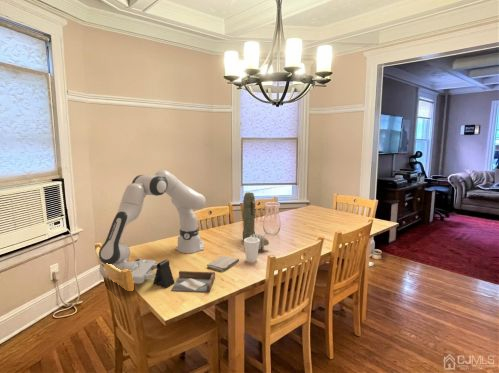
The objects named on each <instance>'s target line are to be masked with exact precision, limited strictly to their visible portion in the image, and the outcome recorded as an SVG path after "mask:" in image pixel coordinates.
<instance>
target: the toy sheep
mask: <svg viewBox="0 0 499 373" xmlns="http://www.w3.org/2000/svg"><path fill="white" fill-rule="evenodd" d="M264 236H265V235H263V234H258V233H255V234H253V236H252V235H250V237H254V238H258V239H259V240H260V244H259V249H258V251H259V250H261V252H262V251H263V252H265V246H268V245H269V243H270V241H269V240H268V239H267V238H266V237H264ZM250 237H249V238H250ZM242 242H243V244H244V241H243V240H242Z"/></svg>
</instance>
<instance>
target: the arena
mask: <svg viewBox="0 0 499 373" xmlns="http://www.w3.org/2000/svg"><path fill="white" fill-rule="evenodd" d="M215 279H216V272H215V271H212V272H211V271H189V270H187V271H186V270H179V272H178V278H177V279H176V281H175V283H174V284H173V286H172V288H171V290H170V291H171V292H186V293H187V292H188V293H206V294H207V293H208V294H209V293H211V290H212V287H213V284H214V283H215V282H214V281H215Z"/></svg>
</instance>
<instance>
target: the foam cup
mask: <svg viewBox="0 0 499 373" xmlns="http://www.w3.org/2000/svg"><path fill="white" fill-rule="evenodd" d="M243 244H244V252H245V259H246V262H247V261H248V262H247V263H256V262H257V261H258V254H259V244H260V240H259V239H258V238H254V237H250V238H245V239H244V243H243ZM255 261H256V262H255Z"/></svg>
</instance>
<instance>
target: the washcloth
mask: <svg viewBox="0 0 499 373" xmlns="http://www.w3.org/2000/svg"><path fill="white" fill-rule="evenodd" d="M239 262H240V258H237V257H231V256H227V255H221V256H220V257H218V258H216V259H214V260H212V261H211V262H208V263H207V265H206V266H207V267H206V268H207V269H210V270H212V271H217V272H221V273H223V272H226V271H228V270H229V269H231V268H232V267H233V266H235V265H236V264H238V263H239Z"/></svg>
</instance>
